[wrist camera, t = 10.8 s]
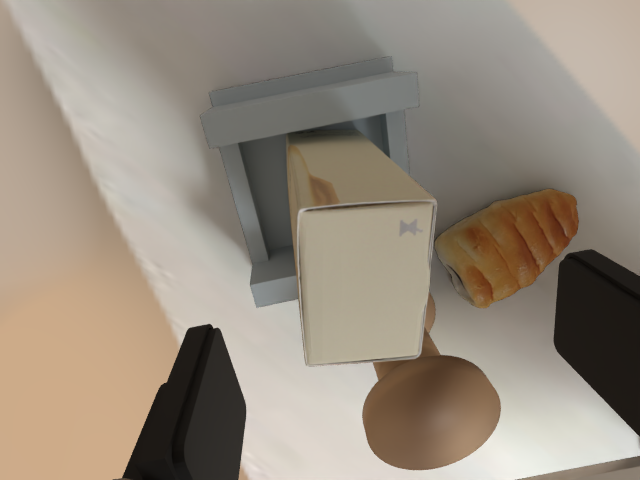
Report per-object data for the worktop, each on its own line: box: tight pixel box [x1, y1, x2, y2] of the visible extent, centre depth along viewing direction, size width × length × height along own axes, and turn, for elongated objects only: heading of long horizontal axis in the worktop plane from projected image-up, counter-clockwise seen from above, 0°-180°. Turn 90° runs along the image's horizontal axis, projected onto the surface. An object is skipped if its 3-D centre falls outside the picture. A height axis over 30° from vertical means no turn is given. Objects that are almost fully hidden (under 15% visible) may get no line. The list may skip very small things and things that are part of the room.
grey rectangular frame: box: [200, 56, 419, 308], centre depth 22 cm, size 10×12×5 cm
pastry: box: [434, 189, 579, 308], centre depth 26 cm, size 9×7×4 cm
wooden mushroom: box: [362, 293, 501, 470], centre depth 24 cm, size 7×7×10 cm
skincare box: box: [286, 130, 437, 367], centre depth 18 cm, size 6×4×12 cm
